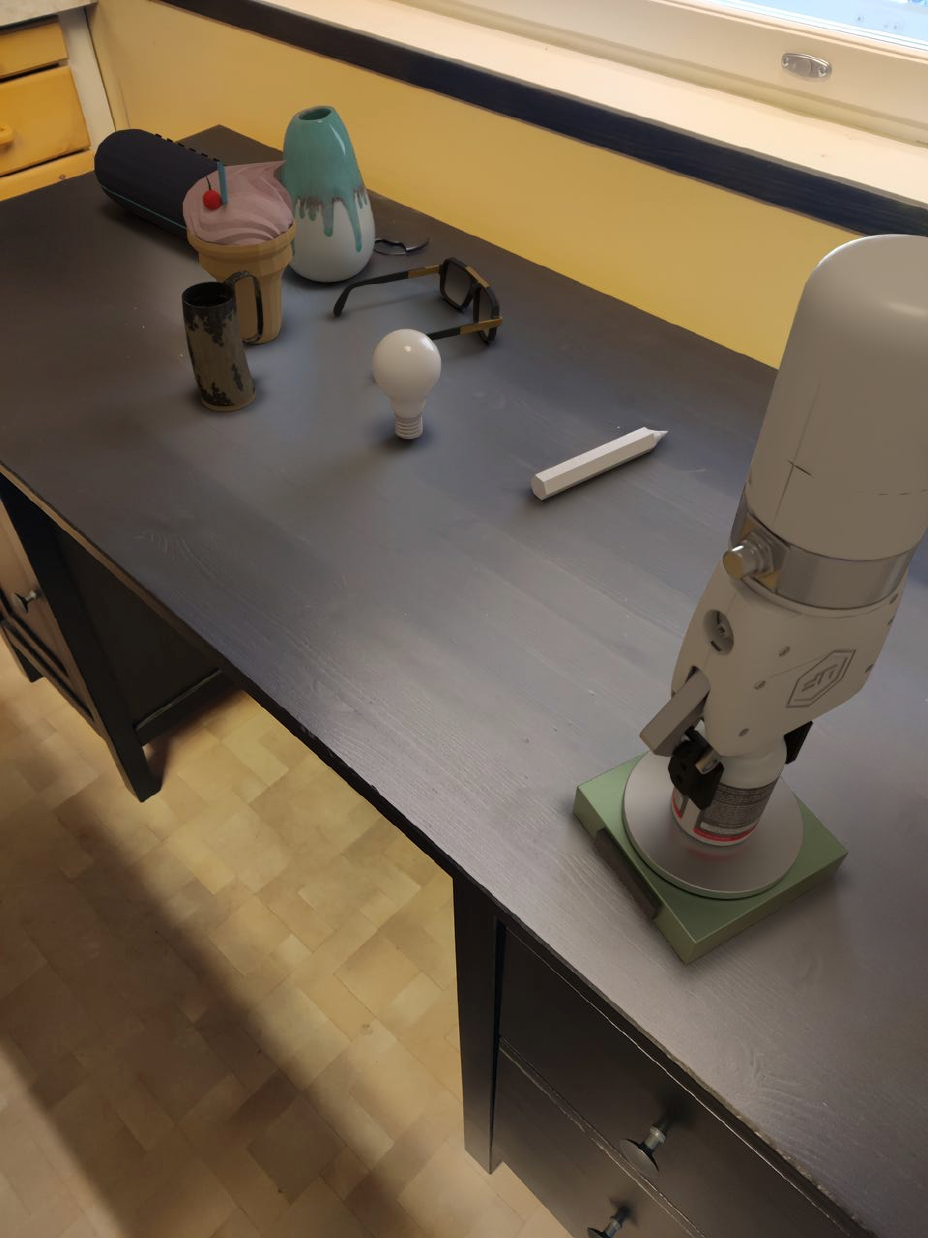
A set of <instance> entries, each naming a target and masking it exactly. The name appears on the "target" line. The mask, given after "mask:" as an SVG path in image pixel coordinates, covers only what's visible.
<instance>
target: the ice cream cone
mask: <svg viewBox="0 0 928 1238" xmlns="http://www.w3.org/2000/svg"><path fill="white" fill-rule="evenodd" d="M286 161H287V160H285V161H282V160H276V161H266V162H257V163H246V164H245V163H244V164H236V165H227V166H226V167H224V166H223V165H222V164H223V163H222V162H221V161H220V162H219V161H218V162H217V166H218V170H217V171H215V172H213V173H211V174H210V175H207V176H205V177H204V178H202V179H200V180H199V181H198V182H197V183H196V184H195V185H194V186H193V187H192V188H191V189H190V190H189V191H188V192H187V195H186V197H185V199H184V202H183V216H184V219H185V223H186V225H187V237H188V240H187V241H188V243H189V244H190V246H192V248H194V249H195V250H196V251H197V252H198V260H199V262H198V263H199V265H200V266H201V268H202V269H203V270H204V271H205V272H206V273H207V274H209V275H210V276H211V277H213V278H214V280H215V282H222V283H223V282H224V281H225V280H226V279H227V278H228V277H229V276H231V275H232V274H233V273H236V272H239V271H243V270H245V271H249V272H250V273H251V274H252V275H253V276H255V277H256V278H257V279H258V280H259V282H260V287H261V297H262V306H263V323H264V326H263V334H262V337H261V338H260V340H258V341H257V342H254V343H251V344H252V345H260V344H266V343H269V342H272V341H273V340H274V339H276V338H277V336H279V333H280V330H281V328H282V321H283V304H282V303H283V301H282V276H283V274H284V272H285V270H286V268H287V267H288V266H289V262H290V261H291V260H292V254H293V251H292V248H291V244H290V243H291V241H292V240H293V238H294V237H295V231H296V223H295V219H294V217H293V215H292V201H291V198H290V195H289V192H288V191H287V190H286V189H285V188H284V187H283V186H282V185H281V184H280V180H278V179H277V178H276V177H275V171H276V170H277V169H278V168H280V167H282V164H283V163H284V162H286ZM221 163H222V164H221ZM235 292H236V303H237V314H238V320H239V325H240V331H241V337H242V342H244V340H245V339H248V338H251V337H253V336H254V335H255V334H256V333H257V321H258V320H257V307H256V298H255V291H254V283H253V277H246V278H243V279H240V280H239V281H237V282H236V283H235Z"/></svg>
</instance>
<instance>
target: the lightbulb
mask: <svg viewBox="0 0 928 1238" xmlns="http://www.w3.org/2000/svg"><path fill="white" fill-rule="evenodd" d="M425 334H426V333H424V332H422V331H420V330H416V329H413V328H401V329H400V328H399V329H396V330H393V331H391V332H388V333H387V334H386V335H384V336H383V337H382V338H381V339H380V340H379V342H378V343H377V344H376V346H375V348H374V350H373V352H372V356H371V357H372V358H371V371H372V376H373V378H374V381H375V383H376V385H377V386H378V388H379V389H380V390H381V391H382V392H383V394H384V395H385V396H386V397H387V399H388V400H389V404H390V407H391V409H392V411H393V416H394V428H395V429H394V432H395V434H396V435H397V436H398V437H399V438H400V439H401V438H402V439H404V440H413V439H416V438H419V437H420V436H421V435H422V434H423V432H424V430H423V429H424V425H423V424H424V423H423V411H424V409H425V407H426V404H427V399H428V397H429V395H430V394H431V393H432V391H433V390H434V389H435V387H436V386H437V384H438V383H439V381H440V377H441V373H442V358H441V354H440V351H439V348H438V347H437V345H436V343H434V341H432V340H431V339H430V338H429V337H428V336H426V335H425Z"/></svg>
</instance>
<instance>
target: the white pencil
mask: <svg viewBox="0 0 928 1238" xmlns="http://www.w3.org/2000/svg"><path fill="white" fill-rule="evenodd" d="M667 433H669V430H654V429H648V428H647V427H645V426H643V427H641V428H637V429H636V430H634V431H632V432H629V433H626V434H625V435H623V436H620V437H618V438H616V439H613V440H611V441H608V442H606V443H604V444H602V445H599V446H597V447H594V448H593V449H590V450H588V451H586V452H583V453H582V454H579V455H577V456H575V457H572V458H570V459H568V460H565V461H563V462H561V463H559V464H556V465H554V466H552V467H550V468H547V469H545V470H542V471H540V472H538V473H535V474H534V475H533V476H532V477H531V479H530V480H529V481H530V482H529V483H530V486H531V489H532V493H533V495H535V496H536V497H537V498H538V499H539V500H540V501H543V500H546V499H548V498H551V497H552V496H555V495H558V494H559V493H561V492H563V491H566V490H568V489H570V488H573V487H575V486H576V485H580V484H581V483H583V482H585V481H588V480H590V479H592V478H594V477H597V476H599V475H601V474H603V473H606V472H607V471H609V470H612V469H615V468H616V467H619V466H621V465H623V464H625V463H627V462H630V461H632V460H634V459H636V458H638V457H641V456H643V455H645V454H647V453H649V452H651V451H652V450H653V449H654V448H655V447H656V446H657V444H658V443H659V441H660V440H662V439H663V438H664V437H665V436H666V435H667Z"/></svg>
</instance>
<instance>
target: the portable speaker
mask: <svg viewBox="0 0 928 1238" xmlns="http://www.w3.org/2000/svg"><path fill="white" fill-rule="evenodd" d="M218 161H219V162H220V163H221V164H222V165H223V166H224V167H226V166H228V165H227V164H224V163H222V162H221V160H220V159H218V158H216V157H213V158H210V157H209V155H208V154H206V153H204V152H201V153H199V152H197V150H196V149H194V148H192V147H189V148H186V147H185V145H184V144H183V143H181V142H177V143H175V142H174V140H172V139H171V138H169V137H167V138H163V136H162V135H161V134H159V133H157V132H156V133H152V132H149V131H146V130H144V129H141V128H127V129H126V128H125V129H119V130H116V131H114V132H112V133H110V134H109V135H107V136H106V137H105V138H104V139H103V140H102V141H101V142H100V143H99V144H98V145H97V149H96V151H95V153H94V157H93V171H94V174H95V177H96V180H97V182H98V184H99V186H100V188H101V189H102V191H103V192H104V193H105V195H106V196H107V197H108V198H109V199H111V200H112V201H113V202H114V203H116V204H117V205H118V206H119V207H121V208H122V209H124V210H126V211H127V212H129V213H132V214H133V215H136V216H137V217H140V218H142V219H144V220H145V221H148V222H149V223H152V224H154V225H156V226H158V227H160V228H162V229H164V230H166V231H168V232H170V233H172V234H174V235H177V236H179V237H180V238H182V239H185V240H187V241H188V237H187V225H186V223H185V219H184V216H183V202H184V199H185V197H186V195H187V192H188V191H189V190H190V189H191V188H192V187H193V186H194V185H195V184H196V183H197V182H198V181H199V180H200V179H202V178H204V177H205V176H207V175H210V174H211V173H213V172H215V171H217V170H218V166H217V162H218Z"/></svg>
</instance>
